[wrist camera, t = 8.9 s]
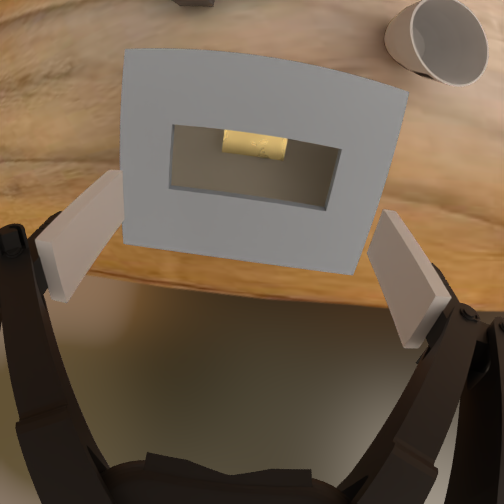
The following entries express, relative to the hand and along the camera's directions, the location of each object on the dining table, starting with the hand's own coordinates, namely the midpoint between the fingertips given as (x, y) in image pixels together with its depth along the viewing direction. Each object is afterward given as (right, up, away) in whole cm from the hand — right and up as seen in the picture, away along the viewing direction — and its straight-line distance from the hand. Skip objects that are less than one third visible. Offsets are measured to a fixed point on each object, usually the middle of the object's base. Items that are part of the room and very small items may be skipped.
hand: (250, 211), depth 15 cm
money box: (0, +11, +17) cm, 20 cm away
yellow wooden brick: (0, +10, +16) cm, 19 cm away
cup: (+16, +20, +10) cm, 28 cm away
